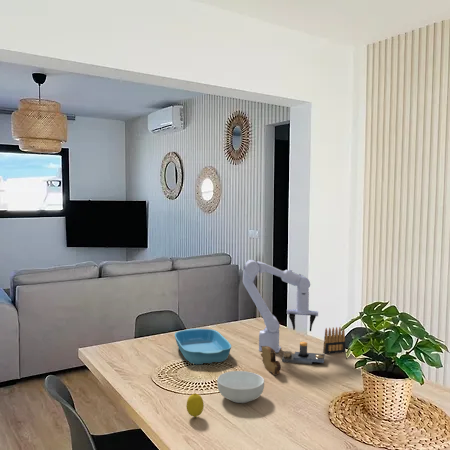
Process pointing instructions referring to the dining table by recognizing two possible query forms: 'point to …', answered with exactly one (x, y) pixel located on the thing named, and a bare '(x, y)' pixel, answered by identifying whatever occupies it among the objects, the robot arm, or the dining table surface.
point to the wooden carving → (270, 360)
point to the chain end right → (310, 357)
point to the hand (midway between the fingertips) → (302, 330)
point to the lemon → (195, 405)
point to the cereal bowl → (240, 386)
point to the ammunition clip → (334, 341)
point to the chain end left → (289, 358)
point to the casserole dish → (202, 345)
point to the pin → (303, 349)
